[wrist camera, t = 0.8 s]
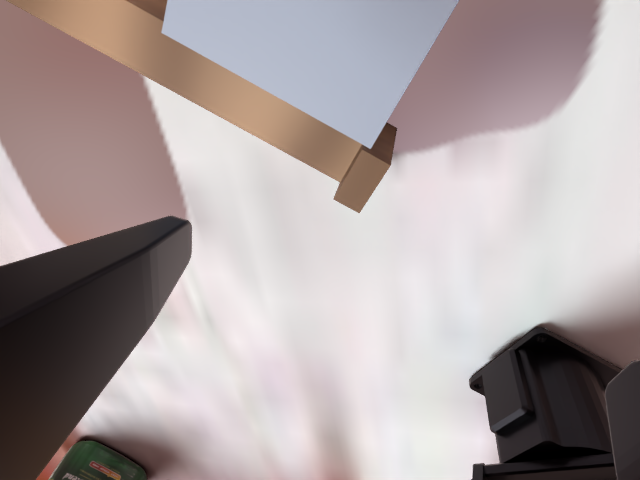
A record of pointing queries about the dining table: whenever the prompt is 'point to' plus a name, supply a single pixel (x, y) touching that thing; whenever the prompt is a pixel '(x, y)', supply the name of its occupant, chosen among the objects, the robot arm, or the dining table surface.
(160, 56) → the chute
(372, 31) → the block
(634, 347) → the dining table surface
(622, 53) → the dining table surface
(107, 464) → the coffee jar
